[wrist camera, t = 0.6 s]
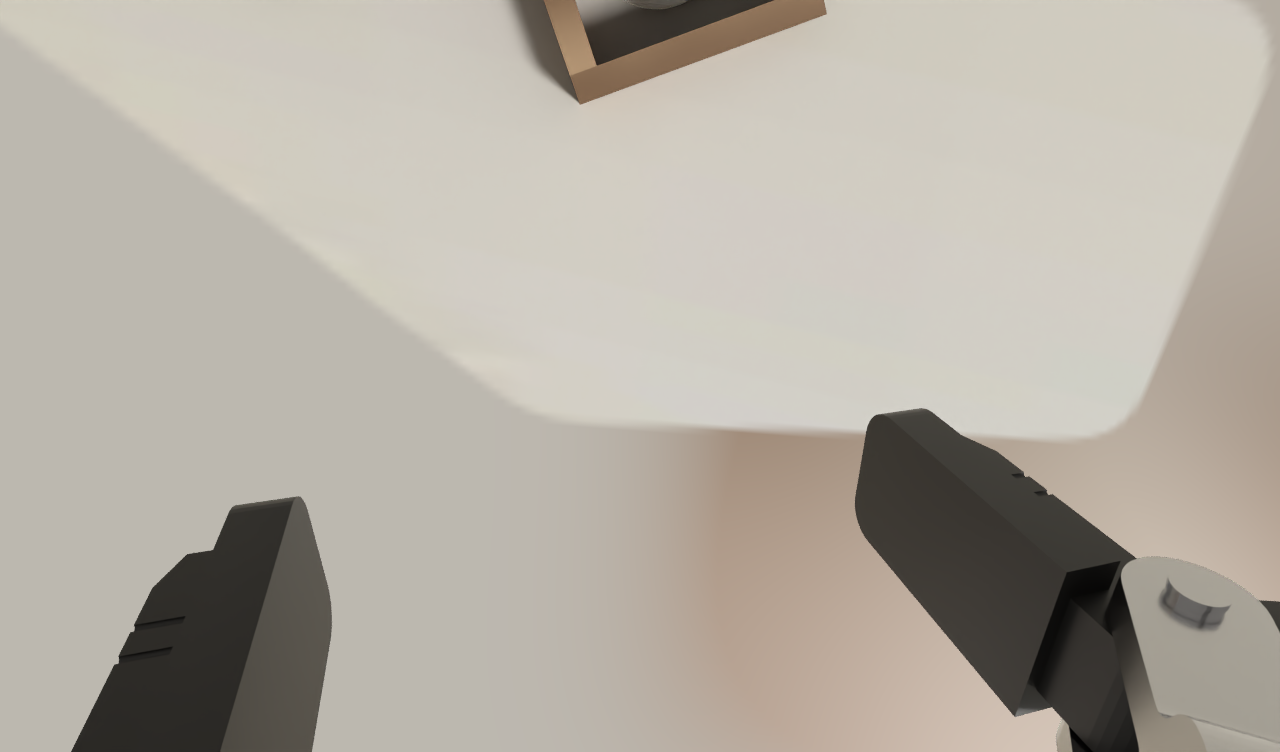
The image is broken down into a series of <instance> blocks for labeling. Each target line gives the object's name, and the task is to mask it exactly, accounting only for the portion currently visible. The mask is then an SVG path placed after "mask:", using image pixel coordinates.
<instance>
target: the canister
mask: <svg viewBox="0 0 1280 752" xmlns="http://www.w3.org/2000/svg"><path fill="white" fill-rule="evenodd" d="M623 1H625V2H627V3H629V4H631V5H634V6H637V7H640V8H645V9H667V8H671V7H675V6H678V5H680V4H682V3H685V2H687V1H688V0H623Z"/></svg>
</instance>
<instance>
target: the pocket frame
mask: <svg viewBox="0 0 1280 752" xmlns="http://www.w3.org/2000/svg"><path fill="white" fill-rule="evenodd" d="M544 3H545V5H546V8H547V11H548V14H549V17H550V20H551V23H552V26H553V28H554V31H555V34H556V37H557V40H558V43H559V46H560V49H561V52H562V54H563V57H564V60H565V63H566V66H567V69H568V72H569V75H570V77H571V80H572V83H573V86H574V89H575V92H576V95H577V98H578V101H579V103H580V104H583V103H586V102H589V101H591V100H594V99H597V98H599V97H602V96H605V95H608V94H610V93H613V92H616V91H619V90H621V89H624V88H627V87H629V86H632V85H635V84H638V83H640V82H643V81H646V80H648V79H651V78H654V77H657V76H659V75H662V74H665V73H668V72H670V71H673V70H676V69H678V68H681V67H684V66H687V65H689V64H692V63H695V62H697V61H700V60H703V59H706V58H708V57H711V56H714V55H717V54H719V53H722V52H725V51H727V50H730V49H733V48H736V47H738V46H741V45H744V44H747V43H749V42H752V41H755V40H757V39H760V38H763V37H766V36H768V35H771V34H774V33H776V32H779V31H782V30H785V29H787V28H790V27H793V26H796V25H798V24H801V23H804V22H806V21H809V20H812V19H815V18H817V17H820V16H823V15H825V14H827V13H826V8H825V3H824V0H774V1H771V2H768V3H765V4H763V5H760V6H757V7H755V8H752V9H749V10H747V11H744V12H741V13H738V14H736V15H733V16H730V17H728V18H725V19H722V20H720V21H717V22H714V23H711V24H709V25H706V26H703V27H701V28H698V29H695V30H692V31H690V32H687V33H684V34H682V35H679V36H676V37H674V38H671V39H668V40H665V41H663V42H660V43H657V44H655V45H652V46H649V47H646V48H644V49H641V50H638V51H636V52H633V53H630V54H628V55H625V56H622V57H619V58H617V59H614V60H611V61H609V62H606V63H603V64H601V65H598V66H597V65H596V62H595V59H594V56H593V53H592V50H591V47H590V44H589V41H588V38H587V35H586V32H585V29H584V26H583V23H582V20H581V17H580V14H579V11H578V8H577V5H576V2H575V0H544Z"/></svg>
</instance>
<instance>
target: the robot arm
mask: <svg viewBox="0 0 1280 752" xmlns="http://www.w3.org/2000/svg"><path fill="white" fill-rule="evenodd" d="M855 510H856V516H857V520H858V523H859V526H860V528H861V531H862V533H863V534H864V536H865V538H866V539H867V540H868V542H869V543H870V544H871V545H872V546H873V548H874V549H875V550H876V551H877V552H878V554H879V555H880V556H881V557H882V558H883V560H884V561H885V562H886V563H887V564H888V566H889V567H890V568H891V569H892V570H893V571H894V573H895V574H896V575H897V576H898V577H899V579H900V580H901V581H902V582H903V584H904V585H905V586H906V587H907V588H908V590H909V591H910V592H911V593H912V594H913V595H914V597H915V598H916V599H917V600H918V602H919V603H920V604H921V605H922V606H923V608H924V609H925V610H926V611H927V612H928V613H929V615H930V616H931V617H932V618H933V619H934V621H935V622H936V623H937V624H938V626H939V627H940V628H941V629H942V630H943V631H944V633H945V634H946V635H947V636H948V637H949V639H950V640H951V641H952V642H953V643H954V645H955V646H956V647H957V648H958V649H959V651H960V652H961V653H962V654H963V655H964V656H965V658H966V659H967V660H968V661H969V663H970V664H971V665H972V666H973V667H974V669H975V670H976V671H977V672H978V673H979V675H980V676H981V677H982V678H983V679H984V680H985V682H986V683H987V684H988V685H989V687H990V688H991V689H992V690H993V691H994V693H995V694H996V695H997V696H998V697H999V698H1000V700H1001V701H1002V702H1003V703H1004V705H1005V706H1006V707H1007V708H1008V709H1009V710H1010V712H1011V713H1012V714H1013V715H1014V716H1015V717H1017V716H1020V715H1024V714H1028V713H1031V712H1035V711H1039V710H1043V709H1047V708H1050V707H1053V709H1054V710H1055V711H1056V712H1057V713H1058V714H1059V715H1060V716H1061V717H1062V720H1061V723H1060V725H1059V727H1058V730H1057V734H1056V743H1057V751H1058V752H1280V602H1276V601H1260V600H1258V599H1256V598H1255V597H1254V596H1253V595H1252V594H1251V593H1249V592H1248V591H1247V590H1245V589H1244V588H1243V587H1241V586H1240V585H1238V584H1236V583H1235V582H1233V581H1232V580H1230V579H1228V578H1226V577H1224V576H1222V575H1220V574H1218V573H1216V572H1214V571H1212V570H1209V569H1207V568H1204V567H1202V566H1199V565H1196V564H1193V563H1190V562H1186V561H1182V560H1179V559H1173V558H1167V557H1143V558H1138V559H1137V558H1135V557H1134V556H1133V555H1131V554H1130V553H1128V552H1127V551H1126V550H1125V549H1123V548H1122V547H1121V546H1119V545H1118V544H1117V543H1116V542H1114V541H1113V540H1112V539H1110V538H1109V537H1108V536H1106V535H1105V534H1104V533H1103V532H1101V531H1100V530H1099V529H1097V528H1096V527H1095V526H1093V525H1092V524H1091V523H1089V522H1088V521H1087V520H1086V519H1084V518H1083V517H1082V516H1080V515H1079V514H1078V513H1076V512H1075V511H1074V510H1072V509H1071V508H1070V507H1068V506H1067V505H1066V504H1065V503H1063V502H1062V501H1061V500H1059V499H1058V498H1057V497H1055V496H1054V495H1053V494H1052V495H1048V494H1047V490H1046V489H1045V488H1044V487H1042V486H1041V485H1039V484H1038V483H1037V482H1036V481H1035V480H1033V479H1032V478H1030V477H1025V476H1024V472H1023V471H1021V470H1020V469H1019V468H1018V467H1016V466H1015V465H1014V464H1012V463H1011V462H1009V461H1008V460H1007V459H1006V458H1005V457H1003V456H1002V455H1001V454H999V453H998V452H997V451H995V450H992V449H990V448H988V447H986V446H984V445H982V444H979V443H977V442H975V441H973V440H971V439H968V438H966V437H964V436H962V435H960V434H959V433H958V432H956V431H955V430H954V429H953V428H951V427H950V426H949V425H948V424H946V423H945V422H944V421H942V420H941V419H940V418H939V417H937V416H936V415H935V414H934V413H932V412H931V411H929V410H927V409H922V408H920V409H913V410H906V411H899V412H893V413H886V414H879V415H876V416H874V417H873V418H872V419H871V420H870V422H869V424H868V427H867V431H866V437H865V443H864V449H863V455H862V461H861V467H860V474H859V479H858V485H857V490H856V497H855ZM134 626H135V631H134V632H131V633H130V634H129V636H128V638H127V640H126V642H125V645H124V646H123V648H122V650H121V652H120V654H119V664H116V665H114V666H113V669H112V671H111V673H110V675H109V677H108V679H107V681H106V683H105V685H104V687H103V689H102V691H101V693H100V695H99V697H98V699H97V701H96V703H95V705H94V707H93V709H92V711H91V713H90V715H89V717H88V719H87V721H86V723H85V725H84V727H83V729H82V731H81V733H80V735H79V737H78V739H77V741H76V743H75V745H74V747H73V749H72V751H71V752H312V747H313V741H314V735H315V729H316V723H317V717H318V711H319V705H320V699H321V693H322V687H323V681H324V675H325V669H326V663H327V657H328V651H329V645H330V639H331V629H332V627H331V626H332V615H331V601H330V595H329V589H328V585H327V581H326V578H325V574H324V570H323V566H322V562H321V559H320V555H319V551H318V548H317V544H316V540H315V536H314V532H313V529H312V525H311V521H310V518H309V514H308V510H307V507H306V505H305V503H304V501H303V500H302V498H301V497H291V498H284V499H277V500H270V501H263V502H256V503H249V504H243V505H236V506H234V507H232V508H231V510H230V511H229V514H228V516H227V518H226V521H225V523H224V526H223V528H222V530H221V532H220V535H219V537H218V540H217V542H216V544H215V547H214V549H213V550H211V551H205V552H199V553H192V554H187V555H186V556H185V557H184V558H183V559H182V560H181V561H180V562H179V563H178V564H177V565H176V566H175V567H174V568H173V569H172V570H171V571H170V572H168V573H167V574H166V575H165V576H164V577H163V578H162V579H161V580H160V581H159V582H158V583H157V584H156V585H155V586H154V587H153V588H152V590H151V592H150V594H149V596H148V598H147V600H146V602H145V604H144V606H143V608H142V610H141V612H140V614H139V616H138V618H137V620H136V622H135V624H134Z"/></svg>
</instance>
